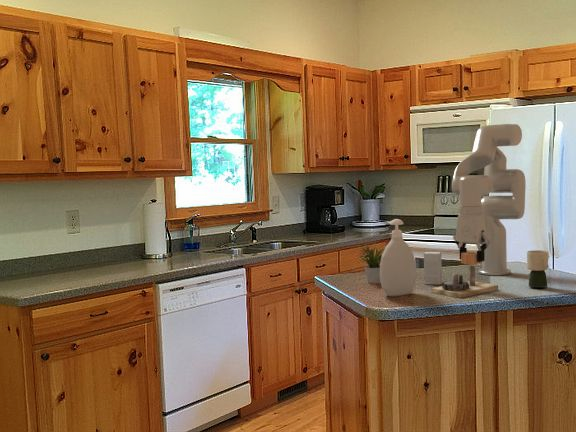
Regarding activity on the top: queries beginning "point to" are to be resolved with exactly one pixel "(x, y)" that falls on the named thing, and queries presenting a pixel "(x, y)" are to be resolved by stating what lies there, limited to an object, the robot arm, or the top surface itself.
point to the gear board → (463, 286)
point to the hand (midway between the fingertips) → (471, 259)
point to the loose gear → (469, 258)
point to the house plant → (372, 264)
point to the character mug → (537, 267)
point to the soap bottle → (397, 265)
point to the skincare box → (432, 268)
